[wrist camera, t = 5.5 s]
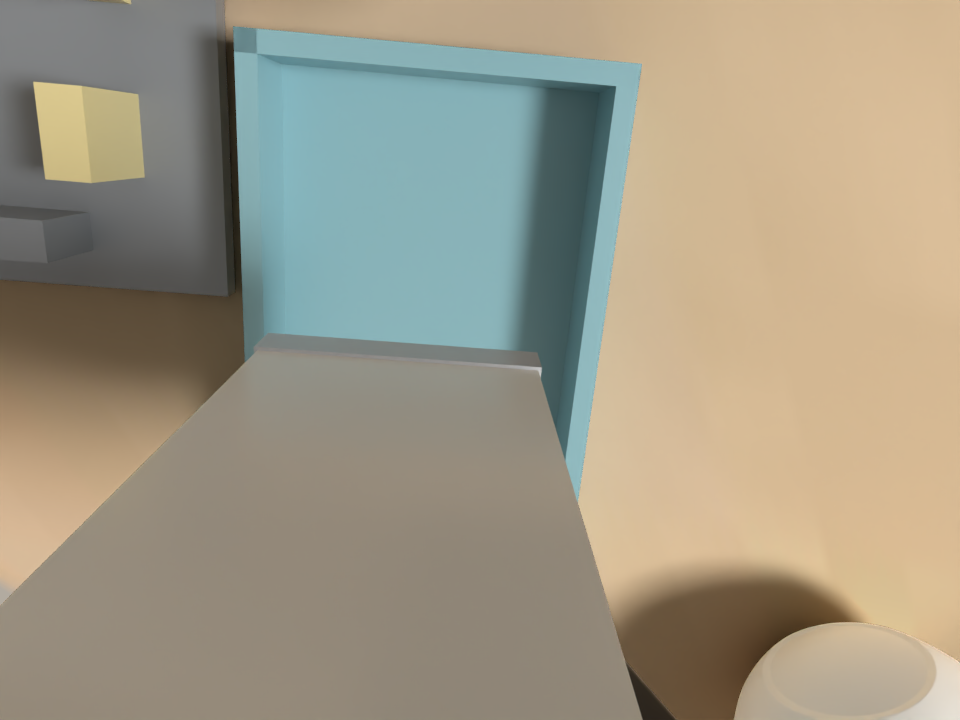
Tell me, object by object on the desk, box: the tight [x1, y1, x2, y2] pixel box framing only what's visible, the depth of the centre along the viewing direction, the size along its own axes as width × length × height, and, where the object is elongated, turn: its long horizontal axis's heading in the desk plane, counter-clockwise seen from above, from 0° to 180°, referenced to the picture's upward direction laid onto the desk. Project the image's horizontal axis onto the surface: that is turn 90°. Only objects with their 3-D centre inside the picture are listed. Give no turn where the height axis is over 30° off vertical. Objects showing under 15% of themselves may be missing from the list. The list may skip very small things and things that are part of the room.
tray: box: [233, 26, 642, 502], centre depth 18 cm, size 9×15×2 cm, turn 175°
